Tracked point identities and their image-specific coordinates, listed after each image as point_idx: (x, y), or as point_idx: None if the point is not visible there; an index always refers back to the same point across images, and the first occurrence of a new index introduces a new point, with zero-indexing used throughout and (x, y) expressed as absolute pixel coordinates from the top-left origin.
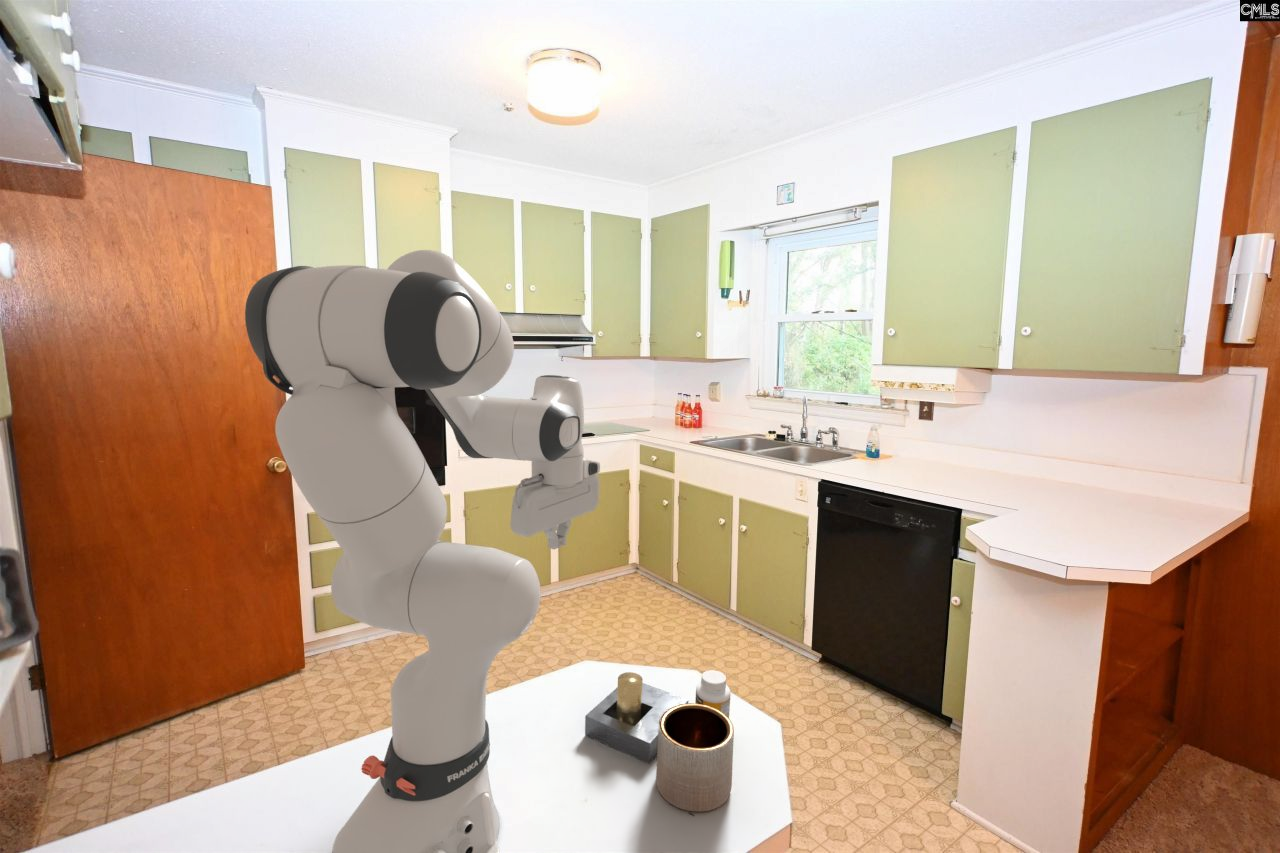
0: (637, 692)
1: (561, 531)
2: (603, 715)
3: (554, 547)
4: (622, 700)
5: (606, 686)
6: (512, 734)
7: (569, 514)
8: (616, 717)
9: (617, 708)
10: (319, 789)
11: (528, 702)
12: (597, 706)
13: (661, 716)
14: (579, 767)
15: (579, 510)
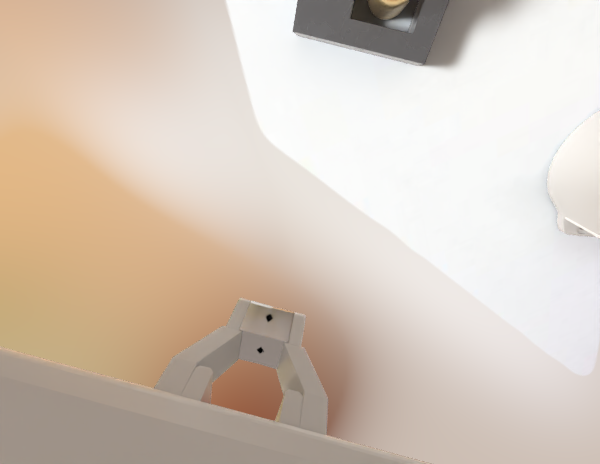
0: None
1: (224, 357)
2: (417, 29)
3: (304, 322)
4: None
5: (287, 84)
6: (429, 168)
7: (175, 448)
8: (401, 9)
9: (407, 2)
10: (536, 297)
11: (359, 178)
12: (393, 53)
13: None
14: (491, 40)
15: (52, 415)
